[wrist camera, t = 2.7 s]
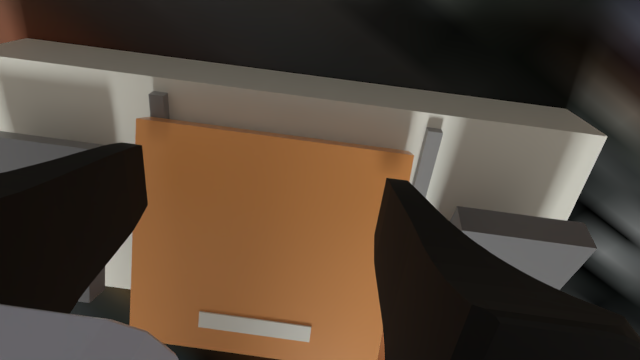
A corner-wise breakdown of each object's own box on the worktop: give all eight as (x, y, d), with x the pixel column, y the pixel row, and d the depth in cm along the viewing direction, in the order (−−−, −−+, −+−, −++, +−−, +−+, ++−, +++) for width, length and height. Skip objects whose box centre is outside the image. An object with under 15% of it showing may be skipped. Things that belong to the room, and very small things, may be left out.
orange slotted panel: (372, 355, 16) (375, 374, 15) (142, 323, 16) (128, 339, 15) (408, 150, 14) (414, 155, 13) (149, 116, 14) (134, 118, 13)
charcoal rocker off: (104, 289, 16) (88, 303, 14) (2, 275, 16) (-22, 288, 15) (105, 144, 14) (87, 149, 13) (-6, 130, 14) (-33, 133, 13)
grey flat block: (511, 313, 17) (517, 338, 16) (413, 299, 17) (414, 323, 16) (584, 222, 13) (598, 250, 12) (456, 206, 13) (462, 231, 12)
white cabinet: (489, 293, 21) (518, 364, 17) (70, 236, 21) (10, 294, 18) (565, 108, 16) (628, 150, 13) (26, 38, 17) (-68, 59, 13)
